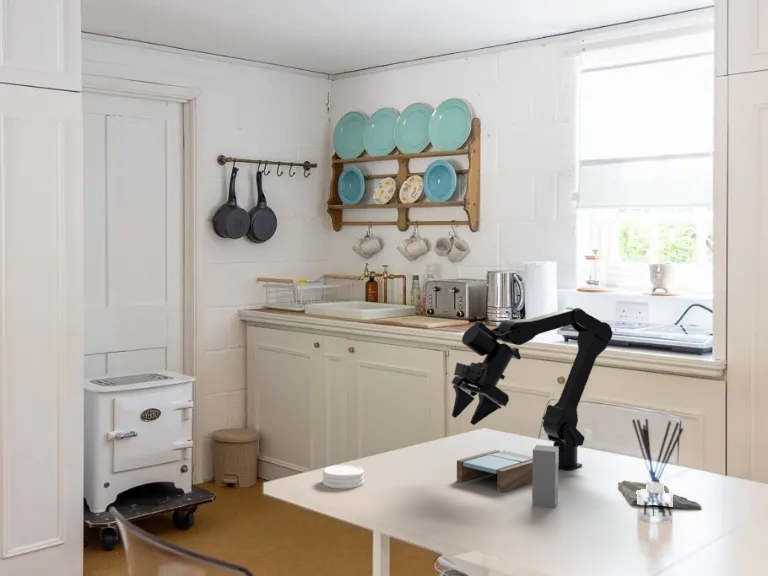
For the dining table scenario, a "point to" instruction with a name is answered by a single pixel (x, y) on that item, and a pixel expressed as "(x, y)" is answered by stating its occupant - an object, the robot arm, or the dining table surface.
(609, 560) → the dining table surface
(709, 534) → the dining table surface
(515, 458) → the trapdoor
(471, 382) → the robot arm
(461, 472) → the hatch frame
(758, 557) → the dining table surface
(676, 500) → the fossil rock
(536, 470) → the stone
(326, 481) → the coaster
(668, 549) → the dining table surface
